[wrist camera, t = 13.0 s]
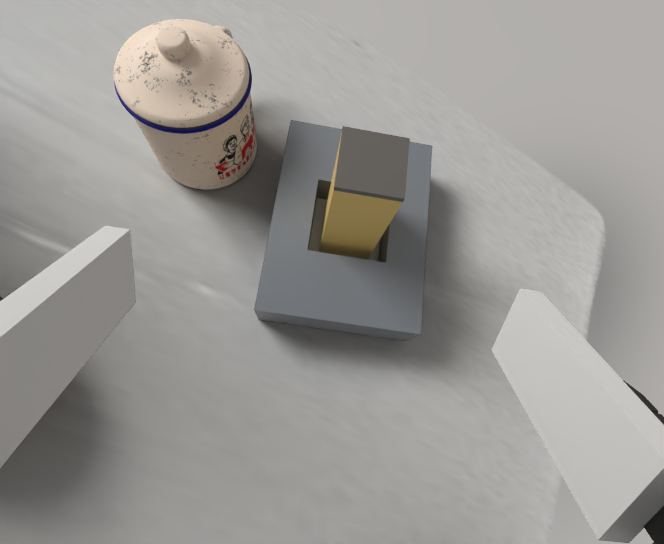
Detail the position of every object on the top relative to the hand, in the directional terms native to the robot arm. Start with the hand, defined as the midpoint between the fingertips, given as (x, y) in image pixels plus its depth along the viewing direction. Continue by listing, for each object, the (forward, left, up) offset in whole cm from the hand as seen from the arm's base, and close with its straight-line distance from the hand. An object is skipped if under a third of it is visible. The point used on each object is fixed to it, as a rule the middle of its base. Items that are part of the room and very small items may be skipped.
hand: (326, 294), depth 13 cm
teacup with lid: (-11, +18, -18) cm, 28 cm away
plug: (+2, +10, -17) cm, 20 cm away
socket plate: (+2, +10, -18) cm, 21 cm away
